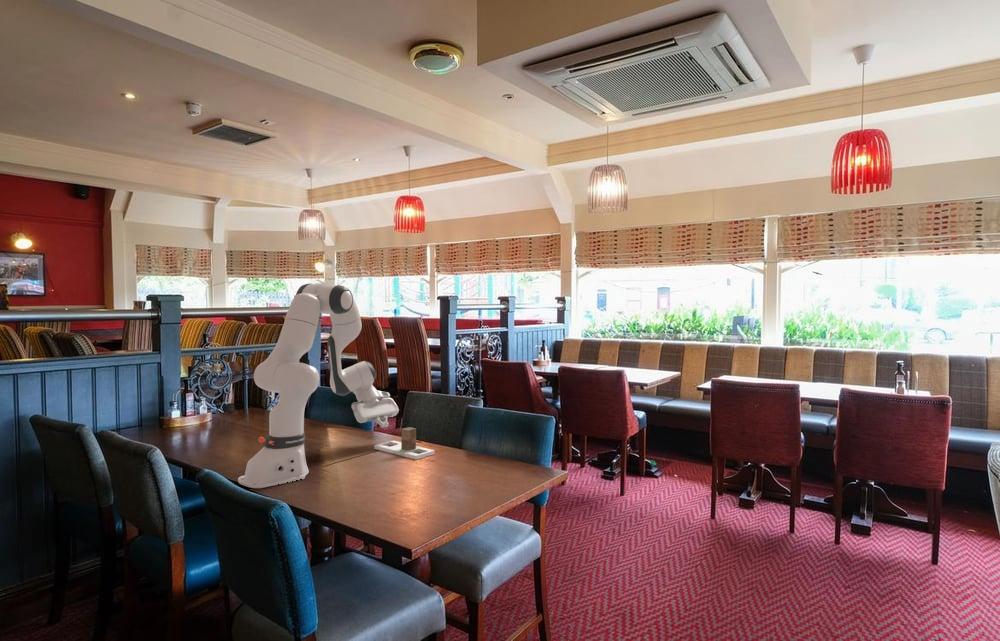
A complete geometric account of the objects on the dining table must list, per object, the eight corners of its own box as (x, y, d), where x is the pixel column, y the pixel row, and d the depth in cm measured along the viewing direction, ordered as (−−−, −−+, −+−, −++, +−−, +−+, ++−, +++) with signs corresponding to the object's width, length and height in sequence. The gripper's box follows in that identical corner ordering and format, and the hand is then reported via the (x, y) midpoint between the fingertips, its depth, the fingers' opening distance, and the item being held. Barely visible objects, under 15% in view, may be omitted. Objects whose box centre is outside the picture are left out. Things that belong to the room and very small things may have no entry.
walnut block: (408, 450, 218) (408, 430, 217) (401, 449, 220) (401, 428, 220) (415, 448, 221) (416, 428, 220) (408, 446, 223) (409, 427, 223)
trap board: (416, 459, 211) (416, 455, 211) (374, 448, 225) (374, 445, 225) (434, 454, 219) (434, 450, 219) (393, 443, 233) (393, 440, 233)
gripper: (352, 398, 224) (368, 426, 219) (391, 392, 241) (407, 417, 235) (345, 408, 227) (361, 435, 222) (384, 401, 243) (400, 426, 238)
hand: (385, 426), depth 228 cm, fingers closed
